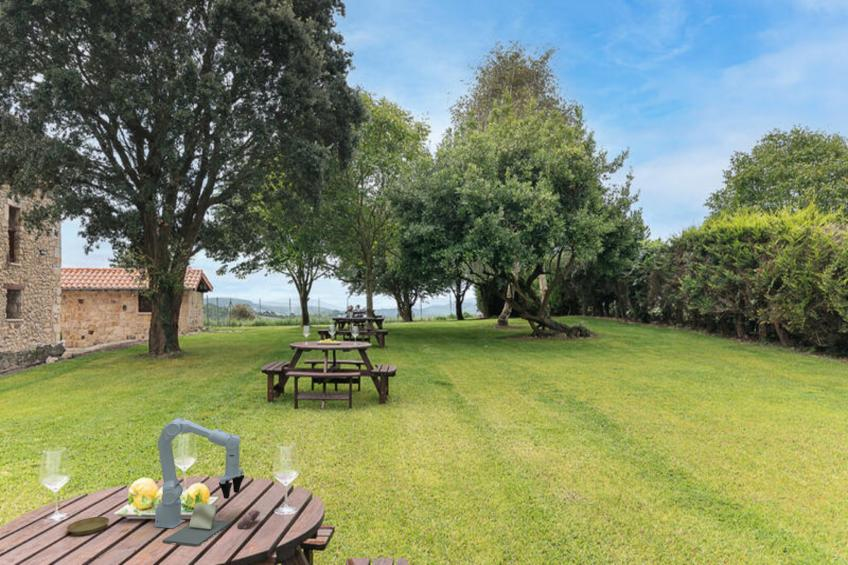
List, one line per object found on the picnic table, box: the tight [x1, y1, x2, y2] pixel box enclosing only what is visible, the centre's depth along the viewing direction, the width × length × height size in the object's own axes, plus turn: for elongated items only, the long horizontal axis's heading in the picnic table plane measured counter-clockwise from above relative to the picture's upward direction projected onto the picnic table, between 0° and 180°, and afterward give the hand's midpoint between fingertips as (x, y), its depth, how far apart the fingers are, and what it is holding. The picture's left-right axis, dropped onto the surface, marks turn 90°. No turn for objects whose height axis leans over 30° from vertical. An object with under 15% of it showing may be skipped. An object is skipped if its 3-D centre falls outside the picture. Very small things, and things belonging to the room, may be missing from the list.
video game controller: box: [236, 509, 261, 529], centre depth 213 cm, size 10×5×7 cm, turn 169°
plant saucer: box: [66, 516, 110, 536], centre depth 208 cm, size 15×15×3 cm
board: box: [161, 519, 232, 547], centre depth 205 cm, size 16×22×1 cm
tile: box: [189, 502, 219, 529], centre depth 208 cm, size 9×10×1 cm
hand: (231, 495), depth 219 cm, fingers open, 7 cm apart
